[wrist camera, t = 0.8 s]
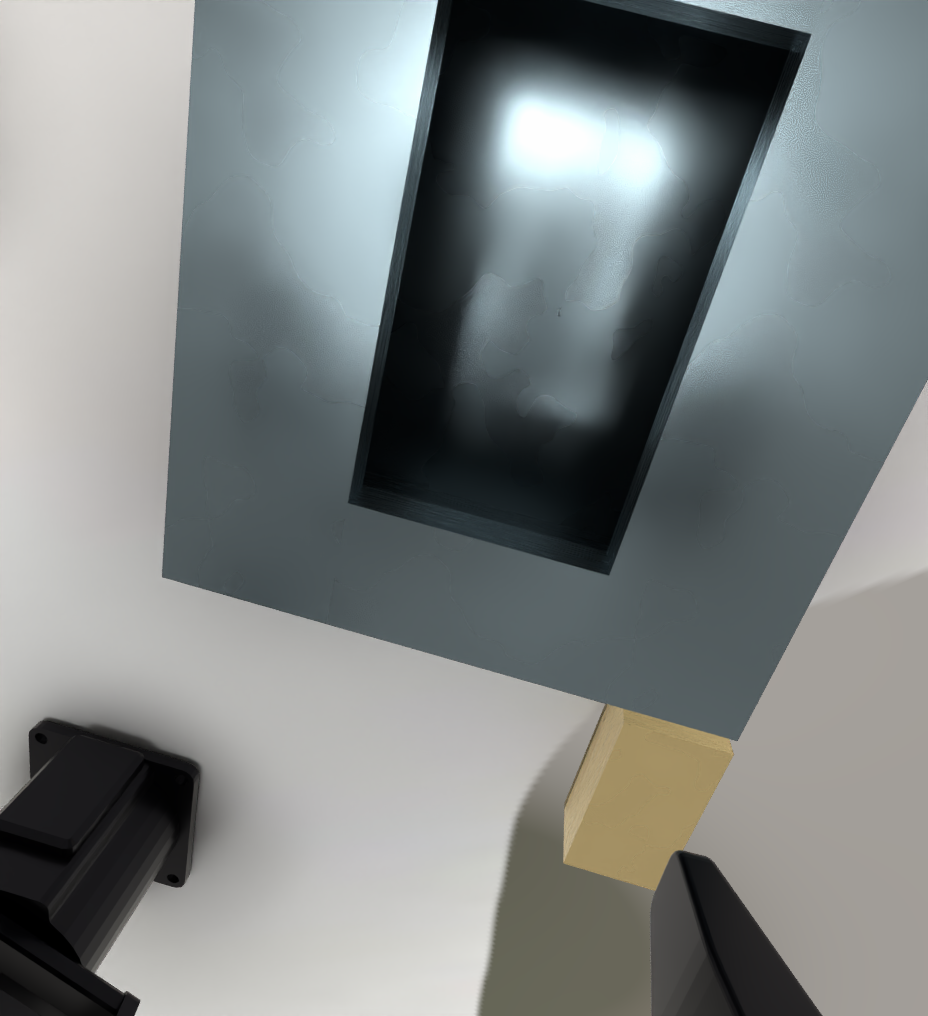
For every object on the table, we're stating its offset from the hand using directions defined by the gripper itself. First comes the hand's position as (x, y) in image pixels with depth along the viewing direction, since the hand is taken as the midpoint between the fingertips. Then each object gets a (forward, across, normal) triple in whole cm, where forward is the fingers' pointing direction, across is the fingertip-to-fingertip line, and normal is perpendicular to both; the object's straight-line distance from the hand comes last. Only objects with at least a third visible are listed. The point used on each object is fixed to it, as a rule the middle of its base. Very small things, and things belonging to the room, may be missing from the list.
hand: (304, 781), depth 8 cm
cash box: (+12, -2, -6) cm, 13 cm away
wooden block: (+13, -8, +9) cm, 17 cm away
